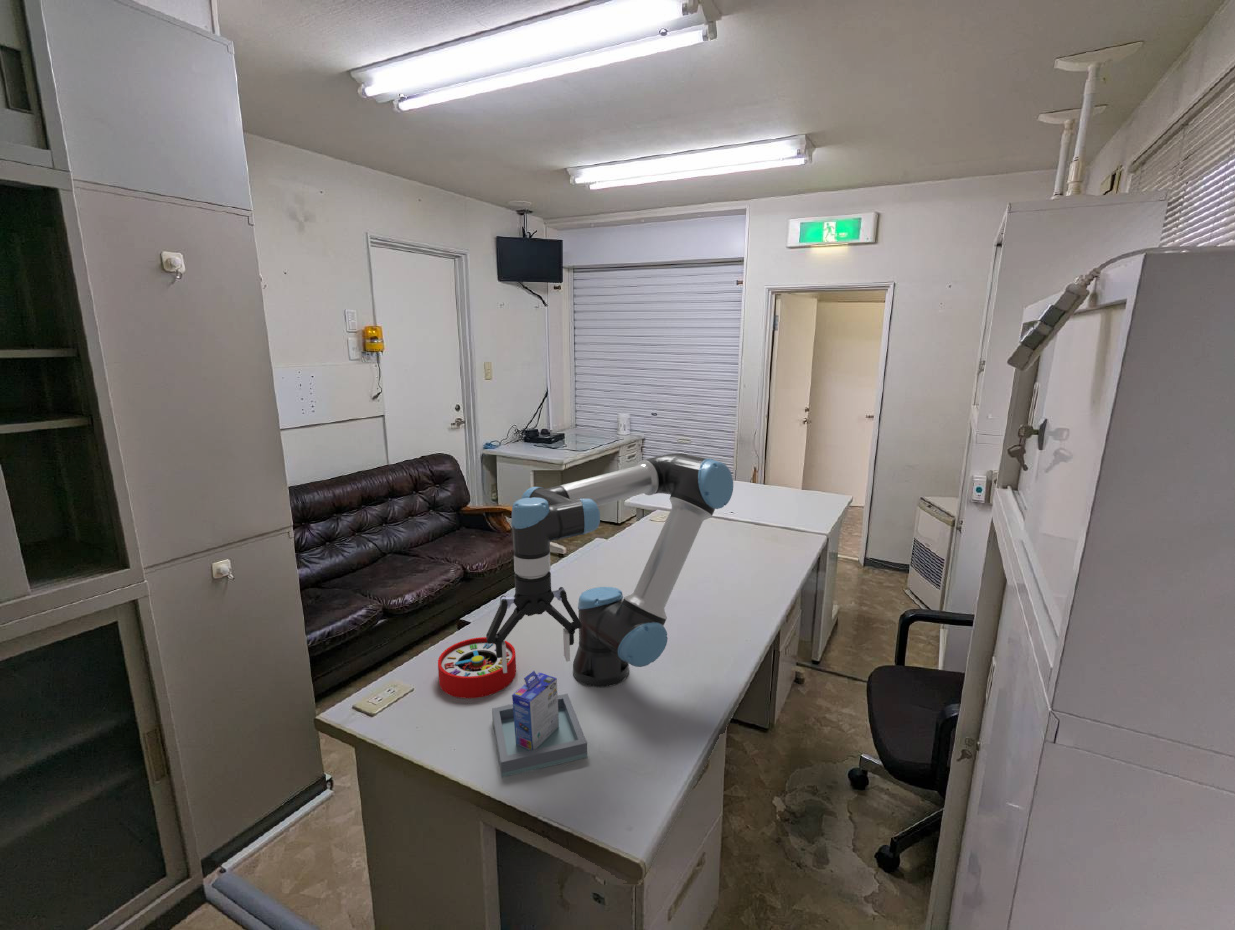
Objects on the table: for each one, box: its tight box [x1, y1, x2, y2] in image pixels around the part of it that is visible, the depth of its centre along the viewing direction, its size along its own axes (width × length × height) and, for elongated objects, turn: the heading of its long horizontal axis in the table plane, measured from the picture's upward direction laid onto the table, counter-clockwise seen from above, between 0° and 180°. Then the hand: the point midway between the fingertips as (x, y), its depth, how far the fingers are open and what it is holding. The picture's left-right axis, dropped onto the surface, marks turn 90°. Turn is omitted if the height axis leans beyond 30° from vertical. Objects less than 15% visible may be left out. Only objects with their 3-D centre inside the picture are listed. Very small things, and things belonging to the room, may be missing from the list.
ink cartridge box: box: [511, 670, 559, 751], centre depth 120 cm, size 10×6×14 cm, turn 151°
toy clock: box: [437, 636, 517, 699], centre depth 145 cm, size 20×6×20 cm
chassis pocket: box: [491, 693, 588, 778], centre depth 122 cm, size 18×18×4 cm
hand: (536, 663), depth 118 cm, fingers open, 13 cm apart
